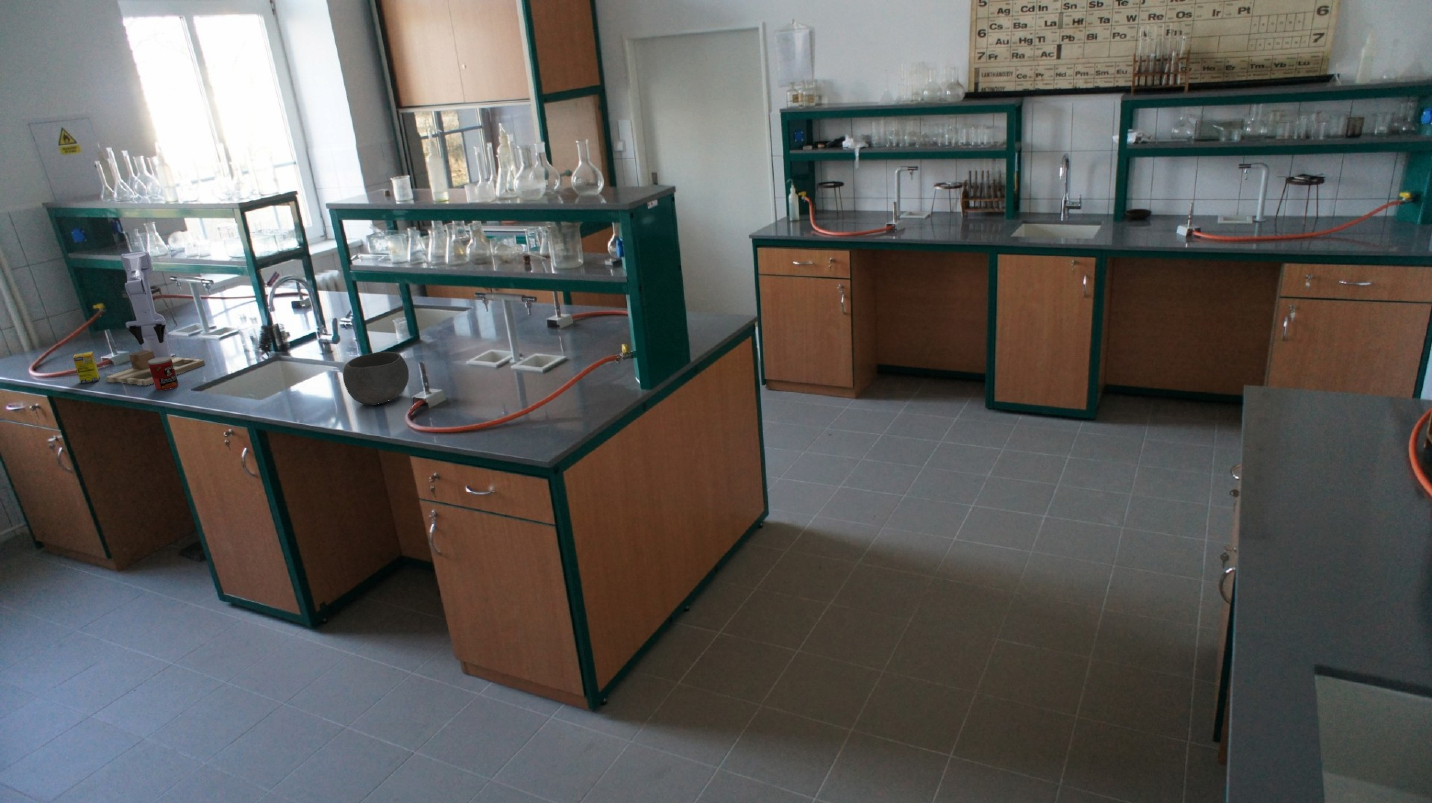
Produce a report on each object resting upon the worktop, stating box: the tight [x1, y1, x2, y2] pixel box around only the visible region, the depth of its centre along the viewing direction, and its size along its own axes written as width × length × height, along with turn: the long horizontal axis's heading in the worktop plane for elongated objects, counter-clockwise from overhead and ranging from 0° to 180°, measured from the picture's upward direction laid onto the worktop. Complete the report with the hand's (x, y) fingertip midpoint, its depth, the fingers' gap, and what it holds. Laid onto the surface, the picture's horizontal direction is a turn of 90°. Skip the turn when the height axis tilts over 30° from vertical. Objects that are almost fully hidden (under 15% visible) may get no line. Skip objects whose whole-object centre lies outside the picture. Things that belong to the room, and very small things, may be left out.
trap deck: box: [105, 356, 206, 386], centre depth 365 cm, size 22×26×2 cm
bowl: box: [342, 351, 410, 406], centre depth 316 cm, size 21×21×15 cm
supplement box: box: [72, 351, 101, 385], centre depth 359 cm, size 6×6×11 cm
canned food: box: [148, 356, 179, 391], centre depth 346 cm, size 8×8×11 cm
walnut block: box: [128, 349, 155, 370], centre depth 366 cm, size 6×6×6 cm
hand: (151, 343), depth 369 cm, fingers open, 7 cm apart
